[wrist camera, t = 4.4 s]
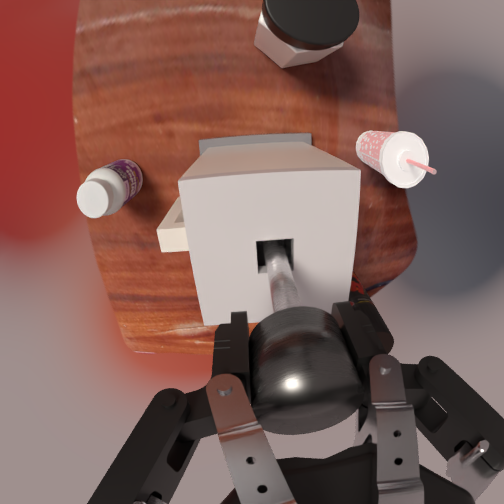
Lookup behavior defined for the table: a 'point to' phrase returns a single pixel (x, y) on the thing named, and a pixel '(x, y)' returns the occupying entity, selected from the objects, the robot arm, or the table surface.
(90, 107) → the table surface
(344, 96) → the table surface
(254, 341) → the plunger
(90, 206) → the pill bottle
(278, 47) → the jar
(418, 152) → the beverage cup
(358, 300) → the deodorant
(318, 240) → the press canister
